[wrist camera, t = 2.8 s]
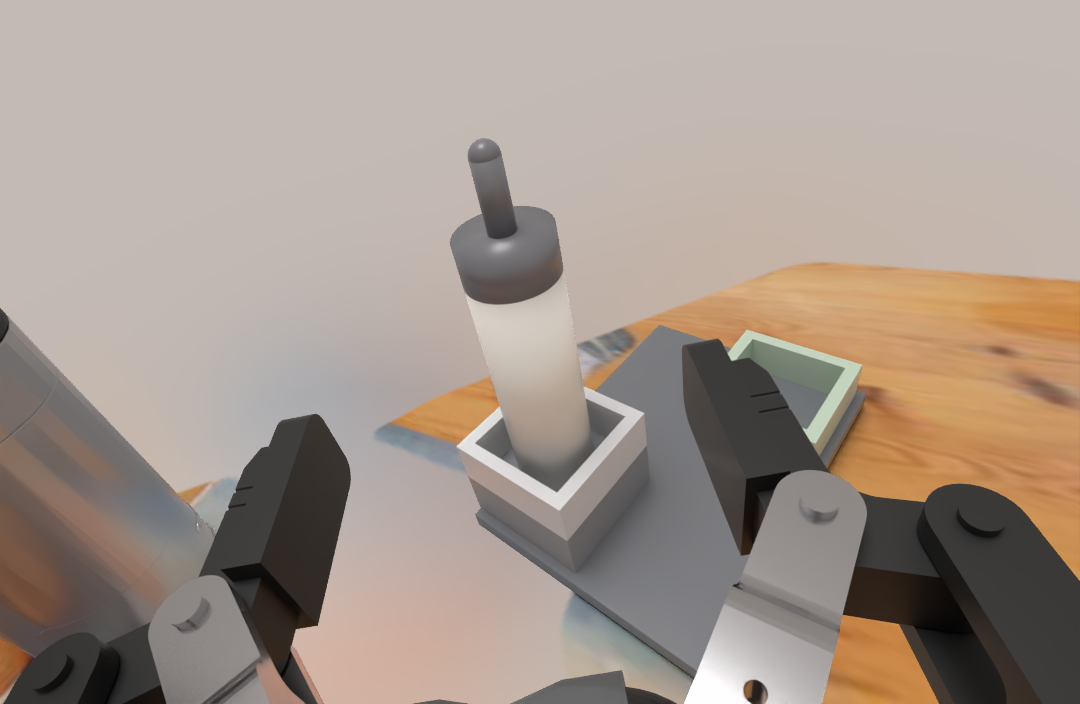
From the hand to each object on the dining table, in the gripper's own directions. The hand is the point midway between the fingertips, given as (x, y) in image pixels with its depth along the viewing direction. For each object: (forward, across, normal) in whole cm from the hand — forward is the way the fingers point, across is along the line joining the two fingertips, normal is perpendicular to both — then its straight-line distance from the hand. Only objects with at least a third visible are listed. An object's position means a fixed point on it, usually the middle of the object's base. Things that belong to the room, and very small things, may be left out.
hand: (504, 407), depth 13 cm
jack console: (+13, -7, +19) cm, 24 cm away
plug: (+11, 0, +15) cm, 19 cm away
